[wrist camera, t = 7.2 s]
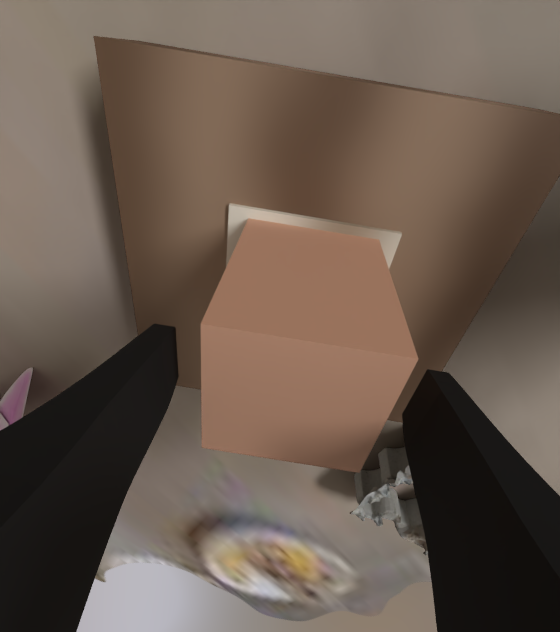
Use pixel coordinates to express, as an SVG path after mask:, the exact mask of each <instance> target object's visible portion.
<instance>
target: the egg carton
mask: <svg viewBox="0 0 560 632" xmlns="http://www.w3.org/2000/svg"><path fill="white" fill-rule="evenodd" d="M378 457H379V463H380V468H379V469H377V470H373V471H365V470H361V471H360V473H356V474H355V475H354V481H355V489H356V498H357V502H358V503H359V506H358V508H357V509H356V510H354V511H352V512H350V514H355V515H356V516H358V517H359V518H360V519H361V520H362V521H365V517H367V518H370V519H372V520H373V521H375V523H376V524H377V525H378V526H382V525H383V523H382V518H385V519H389V520H392V521H394V523H395V527H396V529H397V531H398V533H399V534H400V536H401V537H402V538H404V539H405V540H407V541H409V542H414V543H416V544H417V545H419V546H421V547H422V548H424V549H425V552H424V553H423V554H425V555H427V554H428V550H427V544H426V539H425V534H424V529H423V525H422V520H421V516H420V512H419V507H418V503H417V499H416V498H414V499H409V500H406V501H403V500H400V499H398V495H397V492H396V490H394V489H392V488H389V486H393V487H395V486H398V485H399V484H409V485H410V484H412V483H413V481H412V477H411V473H410V468H409V464H408V459H407V454H406V450H405V447H403V448H397V449H392V448H384V449H383V450H382V451H381V452H380V453H379V454H378ZM389 483H390V484H391V485H390V484H389Z"/></svg>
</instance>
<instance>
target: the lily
mask: <svg viewBox="0 0 560 632" xmlns="http://www.w3.org/2000/svg"><path fill="white" fill-rule="evenodd" d="M32 372H33V367H32V368H28V369H27V370H26V371H24V372H23V373H22V374H21V375H20V376H19V378H18V379H17V380H16V381H15V382H14V383H13V384H12V386H11V387H10V388H9V389H8V391H7V392H6V393H5V395H4V396H3V398H2V399H1V401H0V430H2V429H4V428H6V427H7V426H9V425H11V424H12V423H14V422H16V421H17V420H19V419H21V418H23V414H24V409H25V404H26V399H27V395H28V390H29V386H30V381H31V377H32Z"/></svg>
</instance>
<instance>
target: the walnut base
mask: <svg viewBox="0 0 560 632" xmlns="http://www.w3.org/2000/svg"><path fill="white" fill-rule="evenodd" d="M94 41H95V48H96V55H97V62H98V68H99V75H100V82H101V89H102V95H103V102H104V109H105V116H106V122H107V129H108V136H109V143H110V149H111V156H112V163H113V170H114V176H115V183H116V190H117V196H118V203H119V210H120V217H121V223H122V230H123V237H124V244H125V250H126V257H127V264H128V271H129V277H130V284H131V291H132V298H133V304H134V311H135V318H136V325H137V331H138V336H139V335H140V334H141V333H142V332H144V331H145V330H146V329H147V328H149V327H150V326H151V325H153V324H154V323H155V324H161V325H167V326H173V327H176V341H177V358H178V374H179V377H178V380H177V383H176V385H177V386H183V387H189V388H195V389H201V322H202V320H203V317H204V315H205V313H206V311H207V309H208V306H209V304H210V302H211V300H212V298H213V295H214V293H215V291H216V289H217V287H218V284H219V282H220V280H221V278H222V276H223V273H224V271H225V269H226V267H227V264H228V262H229V260H230V258H231V256H232V253H233V251H234V249H235V247H236V245H237V242H238V240H239V238H240V236H241V234H242V231H243V229H244V227H245V225H246V223H247V220H248V218H250V219H256V220H262V221H269V222H275V223H281V224H287V225H293V226H299V227H305V228H311V229H318V230H324V231H330V232H336V233H342V234H348V235H354V236H360V237H367V238H373V239H379V241H380V244H381V247H382V250H383V253H384V256H385V259H386V262H387V265H388V268H389V271H390V274H391V277H392V280H393V283H394V286H395V289H396V292H397V295H398V298H399V301H400V304H401V307H402V310H403V313H404V316H405V319H406V322H407V326H408V329H409V332H410V335H411V338H412V341H413V344H414V347H415V350H416V353H417V356H418V361H417V363H416V365H415V367H414V369H413V371H412V373H411V375H410V377H409V378H408V380H407V382H406V384H405V386H404V388H403V390H402V392H401V394H400V396H399V398H398V400H397V401H396V403H395V405H394V407H393V409H392V411H391V413H390V415H389V417H388V419H387V420H390V421H396V422H402V423H403V421H402V413H403V411H404V410H405V408H406V406H407V404H408V403H409V401H410V399H411V397H412V395H413V394H414V392H415V390H416V388H417V387H418V385H419V383H420V381H421V379H422V378H423V376H424V374H425V372H426V371H427V369H429V370H435V371H441V372H442V370H443V368H444V367H445V365H446V363H447V362H448V360H449V358H450V357H451V355H452V353H453V352H454V350H455V348H456V347H457V345H458V344H459V342H460V340H461V339H462V337H463V335H464V334H465V332H466V330H467V329H468V327H469V325H470V324H471V322H472V320H473V319H474V317H475V315H476V314H477V312H478V310H479V309H480V307H481V305H482V304H483V302H484V300H485V299H486V297H487V295H488V294H489V292H490V290H491V289H492V287H493V285H494V284H495V282H496V280H497V279H498V277H499V275H500V274H501V272H502V270H503V269H504V267H505V265H506V264H507V262H508V260H509V259H510V257H511V255H512V254H513V252H514V250H515V249H516V247H517V245H518V244H519V242H520V240H521V239H522V237H523V235H524V234H525V232H526V230H527V229H528V227H529V225H530V224H531V222H532V220H533V219H534V217H535V215H536V214H537V212H538V210H539V209H540V207H541V205H542V204H543V202H544V201H545V199H546V197H547V196H548V194H549V192H550V191H551V189H552V187H553V186H554V184H555V182H556V181H557V179H558V177H559V176H560V114H558V113H553V112H549V111H544V110H540V109H534V108H529V107H523V106H517V105H511V104H505V103H499V102H493V101H488V100H482V99H476V98H470V97H464V96H458V95H452V94H447V93H441V92H435V91H429V90H423V89H417V88H411V87H406V86H400V85H394V84H388V83H382V82H376V81H371V80H365V79H359V78H353V77H347V76H341V75H335V74H330V73H324V72H318V71H312V70H306V69H300V68H294V67H289V66H283V65H277V64H271V63H265V62H259V61H253V60H248V59H242V58H236V57H230V56H224V55H218V54H213V53H207V52H201V51H195V50H189V49H183V48H177V47H172V46H166V45H160V44H154V43H148V42H142V41H135V40H125V39H116V38H107V37H98V36H94Z"/></svg>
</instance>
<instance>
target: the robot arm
mask: <svg viewBox="0 0 560 632" xmlns="http://www.w3.org/2000/svg"><path fill="white" fill-rule="evenodd" d="M178 377H179V374H178V358H177V341H176V327H173V326H167V325H161V324H155V323H154V324H153V325H151V326H150V327H149V328H147V329H146V330H145V331H144V332H142V333H141V334H140V335H139V336H137V337H136V338H135V339H134V340H132V341H131V342H130V343H129V344H127V345H126V346H125V347H123V348H122V349H121V350H120V351H118V352H117V353H116V354H115V355H113V356H112V357H111V358H109V359H108V360H107V361H105V362H104V363H103V364H101V365H100V366H99V367H97V368H96V369H95V370H93V371H92V372H91V373H89V374H88V375H86V376H85V377H84V378H82V379H81V380H79V381H78V382H76V383H75V384H73V385H72V386H71V387H69V388H68V389H66V390H65V391H63V392H62V393H60V394H59V395H57V396H56V397H54V398H53V399H51V400H50V401H48V402H47V403H45V404H44V405H42V406H40V407H39V408H37V409H36V410H34V411H32V412H31V413H29V414H28V415H26V416H24V417H23V418H21V419H19V420H17V421H16V422H14V423H12V424H11V425H9V426H7V427H6V428H4V429H2V430H0V632H76V630H77V628H78V625H79V622H80V619H81V616H82V613H83V610H84V607H85V604H86V601H87V599H88V596H89V593H90V590H91V587H92V584H93V581H94V578H95V576H96V573H97V570H98V567H99V565H100V562H101V559H102V556H103V554H104V551H105V548H106V546H107V543H108V540H109V537H110V535H111V532H112V529H113V527H114V524H115V522H116V519H117V516H118V514H119V511H120V509H121V506H122V503H123V501H124V498H125V496H126V494H127V491H128V489H129V487H130V485H131V483H132V480H133V478H134V476H135V474H136V472H137V470H138V468H139V466H140V464H141V462H142V460H143V458H144V456H145V454H146V452H147V450H148V448H149V446H150V444H151V442H152V440H153V438H154V436H155V434H156V432H157V430H158V428H159V425H160V423H161V421H162V419H163V417H164V415H165V413H166V411H167V409H168V406H169V403H170V401H171V398H172V395H173V392H174V389H175V386H176V383H177V380H178ZM402 421H403V433H404V442H405V450H406V454H407V459H408V464H409V468H410V473H411V477H412V481H413V486H414V490H415V494H416V499H417V503H418V507H419V512H420V516H421V520H422V525H423V529H424V534H425V539H426V544H427V550H428V558H429V565H430V573H431V580H432V588H433V596H434V605H435V614H436V623H437V631H438V632H560V496H559V495H558V494H557V493H556V492H555V491H554V490H553V489H552V488H551V487H550V486H549V485H548V484H547V483H546V482H545V481H544V480H543V478H542V477H541V476H540V475H539V474H538V473H537V472H536V471H535V470H534V469H533V468H532V467H531V466H530V465H529V464H528V463H527V462H526V461H525V460H524V458H523V457H522V456H521V455H520V454H519V453H518V452H517V451H516V450H515V449H514V448H513V446H512V445H511V444H510V443H509V442H508V441H507V440H506V439H505V437H504V436H503V435H502V434H501V433H500V432H499V431H498V429H497V428H496V427H495V426H494V425H493V424H492V422H491V421H490V420H489V419H488V418H487V417H486V415H485V414H484V413H483V412H482V411H481V410H480V408H479V407H478V406H477V405H476V404H475V403H474V401H473V400H472V399H471V398H470V397H469V395H468V394H467V393H466V392H465V391H464V390H463V388H462V387H461V386H460V385H459V384H458V383H457V381H456V380H455V379H454V378H453V377H452V376H451V375H450V374H449V373H447V372H441V371H435V370H429V369H427V371H426V372H425V374H424V376H423V378H422V379H421V381H420V383H419V385H418V387H417V388H416V390H415V392H414V394H413V395H412V397H411V399H410V401H409V403H408V404H407V406H406V408H405V410H404V411H403V413H402Z"/></svg>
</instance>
